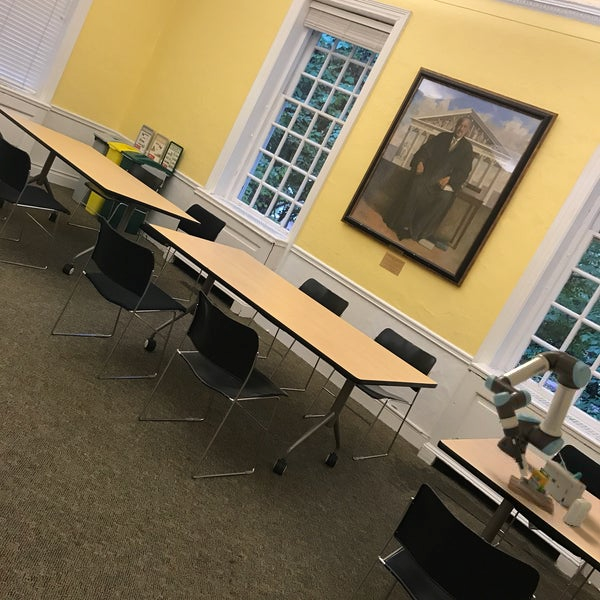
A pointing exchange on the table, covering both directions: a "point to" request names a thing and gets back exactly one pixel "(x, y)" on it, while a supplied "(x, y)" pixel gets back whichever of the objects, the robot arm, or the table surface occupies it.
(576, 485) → the stereo radio cassette player
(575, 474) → the teal l-shaped bracket
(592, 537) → the table surface
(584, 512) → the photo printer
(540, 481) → the crayon box
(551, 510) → the walnut crayon stand
